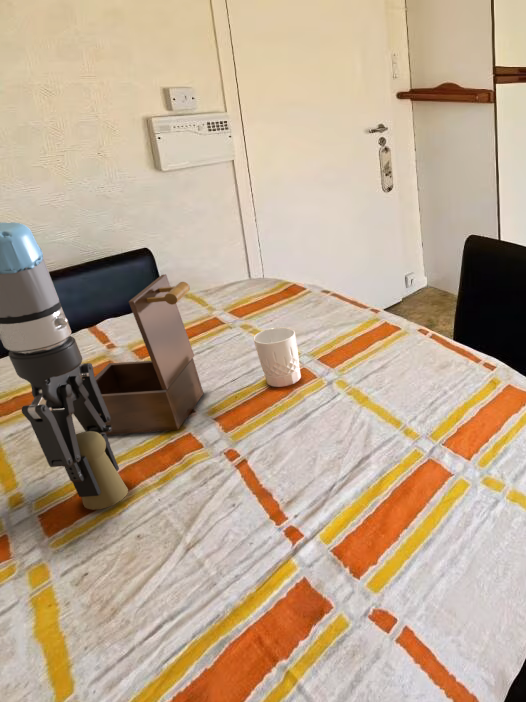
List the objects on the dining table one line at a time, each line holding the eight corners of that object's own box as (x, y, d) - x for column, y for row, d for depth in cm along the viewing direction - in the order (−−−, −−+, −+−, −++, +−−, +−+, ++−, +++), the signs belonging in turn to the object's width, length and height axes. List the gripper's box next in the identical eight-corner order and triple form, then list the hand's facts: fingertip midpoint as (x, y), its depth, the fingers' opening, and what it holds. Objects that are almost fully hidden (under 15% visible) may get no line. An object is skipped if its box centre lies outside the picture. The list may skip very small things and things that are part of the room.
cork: (130, 499, 95) (106, 439, 89) (84, 514, 92) (56, 453, 87) (126, 479, 99) (102, 421, 94) (82, 493, 96) (55, 434, 91)
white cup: (272, 370, 132) (262, 327, 127) (309, 370, 132) (300, 327, 127) (258, 388, 125) (246, 343, 120) (296, 388, 125) (286, 343, 120)
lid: (128, 301, 100) (165, 298, 100) (161, 274, 112) (194, 271, 112) (162, 390, 108) (196, 386, 108) (190, 356, 120) (221, 353, 120)
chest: (87, 436, 111) (71, 398, 107) (122, 398, 123) (109, 363, 119) (178, 429, 112) (165, 392, 108) (203, 393, 124) (193, 358, 120)
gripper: (30, 372, 75) (96, 520, 86) (102, 315, 91) (150, 446, 102) (-35, 376, 75) (39, 525, 86) (49, 318, 91) (102, 450, 102)
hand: (99, 482), depth 94 cm, fingers closed on cork, 5 cm apart
